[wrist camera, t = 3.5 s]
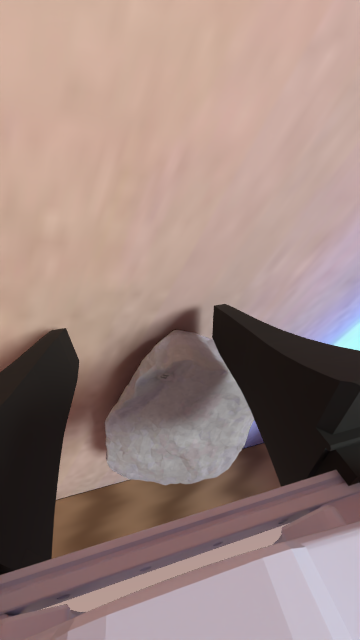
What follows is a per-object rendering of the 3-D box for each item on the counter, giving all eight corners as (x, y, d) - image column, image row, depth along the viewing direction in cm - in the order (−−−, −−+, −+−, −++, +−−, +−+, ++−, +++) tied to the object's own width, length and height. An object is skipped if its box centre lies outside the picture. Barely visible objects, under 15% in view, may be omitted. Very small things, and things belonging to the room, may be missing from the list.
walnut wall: (274, 440, 24) (306, 494, 20) (271, 449, 25) (300, 502, 21) (41, 504, 20) (20, 588, 16) (49, 512, 21) (31, 592, 17)
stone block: (106, 420, 19) (211, 439, 21) (88, 482, 14) (222, 499, 16) (140, 299, 14) (273, 338, 16) (126, 337, 10) (313, 385, 11)
